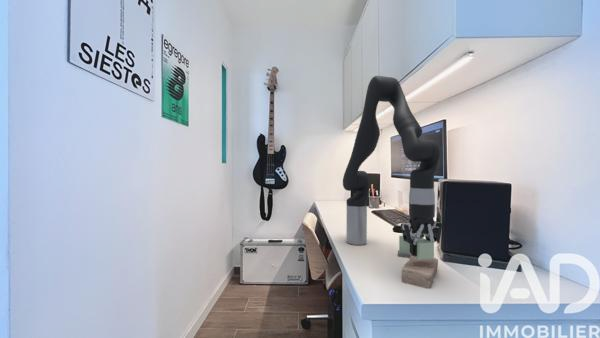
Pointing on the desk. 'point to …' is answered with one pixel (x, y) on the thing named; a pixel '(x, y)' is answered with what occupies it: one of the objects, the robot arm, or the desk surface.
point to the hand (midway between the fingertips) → (421, 254)
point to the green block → (425, 249)
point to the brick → (419, 272)
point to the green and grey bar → (404, 248)
